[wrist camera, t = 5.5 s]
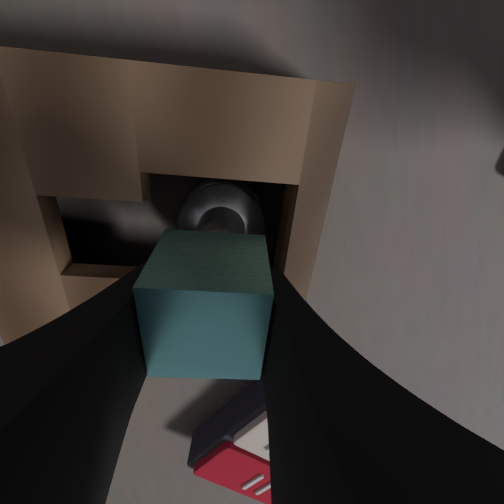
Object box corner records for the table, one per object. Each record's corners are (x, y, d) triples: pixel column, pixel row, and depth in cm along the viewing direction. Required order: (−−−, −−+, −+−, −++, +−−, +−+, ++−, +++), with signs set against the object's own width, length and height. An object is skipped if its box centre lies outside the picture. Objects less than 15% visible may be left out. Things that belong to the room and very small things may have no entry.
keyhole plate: (321, 90, 12) (355, 84, 8) (282, 306, 17) (293, 356, 14) (-20, 55, 11) (-146, 30, 7) (56, 295, 16) (5, 346, 13)
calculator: (274, 408, 17) (418, 485, 21) (270, 355, 21) (392, 429, 25) (181, 477, 21) (318, 532, 25) (193, 422, 25) (310, 477, 29)
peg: (267, 180, 13) (294, 282, 6) (258, 252, 15) (271, 388, 8) (182, 173, 13) (110, 271, 6) (185, 247, 15) (135, 384, 8)
